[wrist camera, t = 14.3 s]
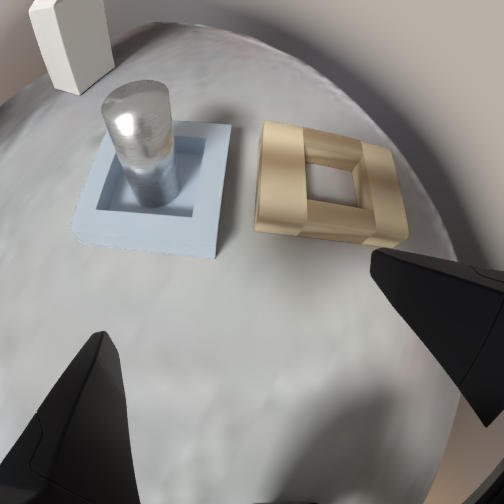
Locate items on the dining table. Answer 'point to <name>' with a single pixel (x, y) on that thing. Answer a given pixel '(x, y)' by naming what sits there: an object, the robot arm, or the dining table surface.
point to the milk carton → (73, 41)
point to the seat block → (162, 218)
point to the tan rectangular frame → (322, 213)
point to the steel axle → (144, 140)
